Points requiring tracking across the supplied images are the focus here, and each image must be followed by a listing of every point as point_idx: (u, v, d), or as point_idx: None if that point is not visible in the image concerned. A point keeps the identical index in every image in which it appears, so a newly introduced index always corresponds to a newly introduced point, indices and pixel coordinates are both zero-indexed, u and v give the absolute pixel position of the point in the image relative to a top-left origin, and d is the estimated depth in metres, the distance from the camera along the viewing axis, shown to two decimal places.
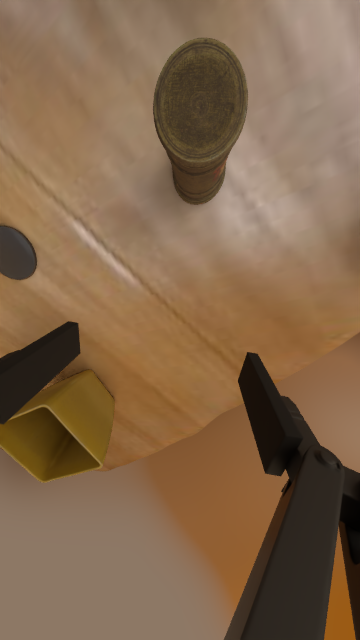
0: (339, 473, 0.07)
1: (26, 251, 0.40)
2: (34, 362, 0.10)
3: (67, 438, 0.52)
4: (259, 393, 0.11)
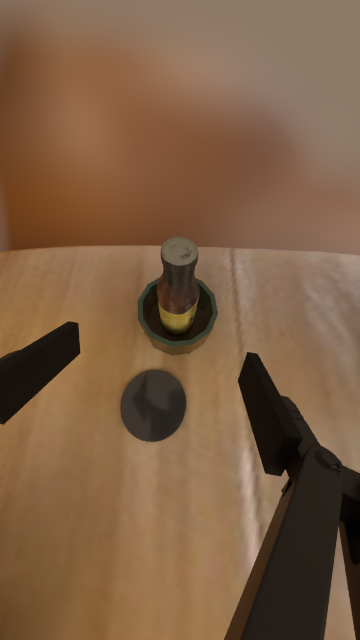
0: (339, 473, 0.07)
1: (173, 420, 0.31)
2: (34, 362, 0.10)
3: None
4: (259, 393, 0.11)
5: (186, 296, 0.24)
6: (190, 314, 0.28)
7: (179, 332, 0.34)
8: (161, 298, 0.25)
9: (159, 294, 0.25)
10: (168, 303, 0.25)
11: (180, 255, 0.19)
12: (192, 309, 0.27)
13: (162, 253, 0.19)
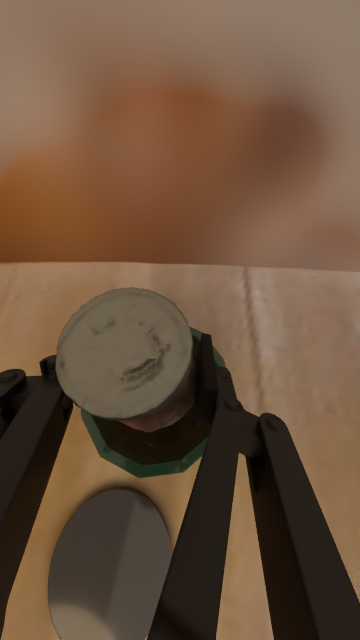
0: (240, 412, 0.09)
1: (146, 606, 0.16)
2: None
3: None
4: (201, 364, 0.13)
5: (165, 412, 0.10)
6: None
7: None
8: None
9: None
10: (124, 423, 0.11)
11: (124, 368, 0.05)
12: None
13: (59, 358, 0.05)
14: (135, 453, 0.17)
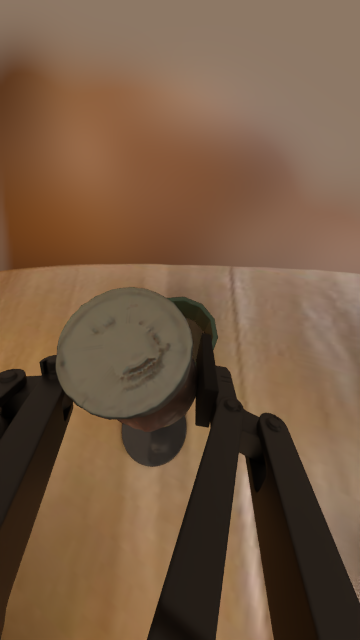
0: (240, 412, 0.09)
1: (173, 444, 0.31)
2: None
3: None
4: (201, 364, 0.13)
5: (165, 412, 0.10)
6: None
7: None
8: None
9: None
10: (124, 422, 0.11)
11: (124, 367, 0.05)
12: None
13: (59, 357, 0.05)
14: None
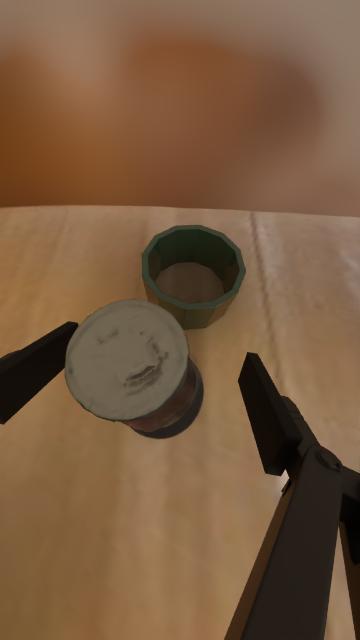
0: (339, 473, 0.07)
1: (187, 411, 0.23)
2: (34, 362, 0.10)
3: None
4: (259, 393, 0.11)
5: (164, 413, 0.11)
6: None
7: None
8: None
9: None
10: (125, 423, 0.11)
11: (126, 373, 0.06)
12: None
13: (67, 365, 0.06)
14: None
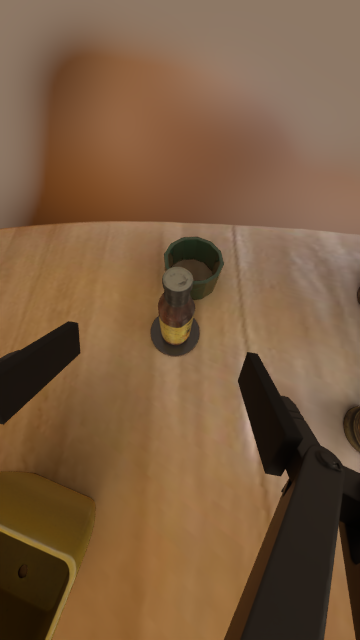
0: (339, 473, 0.07)
1: (190, 342, 0.41)
2: (34, 362, 0.10)
3: None
4: (259, 393, 0.11)
5: (183, 313, 0.29)
6: (187, 327, 0.33)
7: (177, 341, 0.38)
8: (162, 314, 0.29)
9: (160, 311, 0.29)
10: (167, 319, 0.29)
11: (178, 282, 0.24)
12: (188, 323, 0.32)
13: (163, 281, 0.24)
14: None
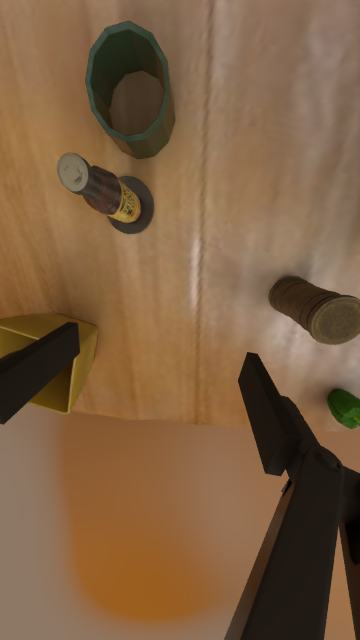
0: (339, 473, 0.07)
1: (144, 219, 0.42)
2: (34, 362, 0.10)
3: None
4: (259, 393, 0.11)
5: (105, 202, 0.29)
6: (122, 211, 0.33)
7: (127, 221, 0.40)
8: None
9: None
10: (95, 209, 0.30)
11: (73, 179, 0.23)
12: (120, 209, 0.32)
13: (59, 177, 0.23)
14: None
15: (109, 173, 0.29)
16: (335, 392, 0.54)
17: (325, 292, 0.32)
